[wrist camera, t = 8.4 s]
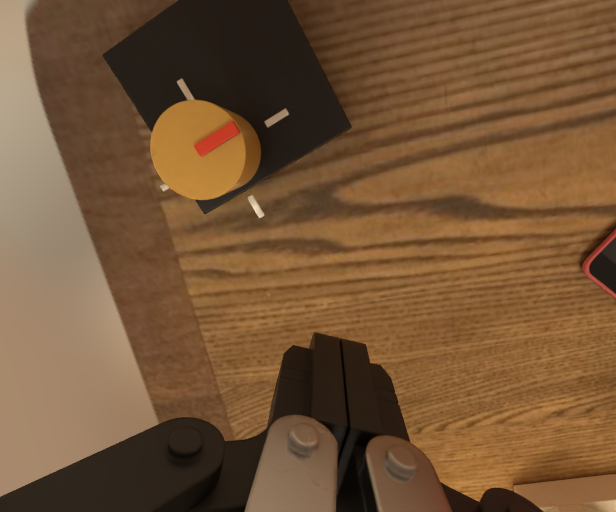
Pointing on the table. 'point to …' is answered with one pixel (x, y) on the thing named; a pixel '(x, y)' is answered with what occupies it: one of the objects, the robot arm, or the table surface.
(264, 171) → the panel
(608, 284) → the smartphone
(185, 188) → the dimmer knob
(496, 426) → the table surface
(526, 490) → the lamp base
